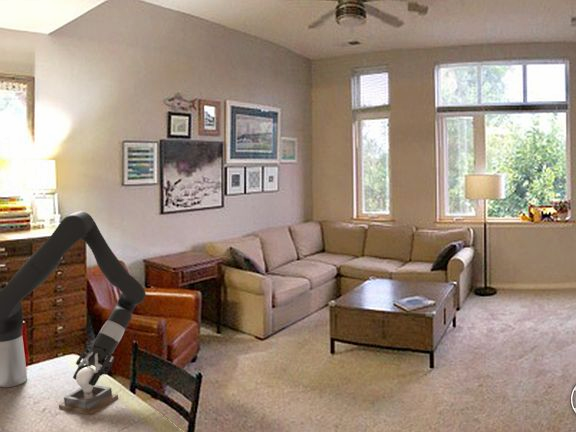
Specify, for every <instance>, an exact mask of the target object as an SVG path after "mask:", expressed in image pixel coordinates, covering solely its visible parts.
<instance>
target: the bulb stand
mask: <svg viewBox="0 0 576 432" xmlns="http://www.w3.org/2000/svg"><path fill="white" fill-rule="evenodd" d="M92 395H93V397H92V398H91V399H89V400H86V399H84V392H83V390H82V388H81V387H80V388H78V389H77V390H75V391H73V392H71V393H69V394H68V395H66V396H64V397H63V402H61V403H60V404H58V409H62V410H67V411H73V412H77V413H80V414H81V413H82V414H86V415H90V416H92V415H93V414H95V413H96V412H98V411H99V410H101V409H103V408H105V407H106V406H107V405H108V404H110V403H112V402H115V400H116V399H118V398H119V395H118V394H116V393H113V391H112V388H111V387H107V386H103V385H96V384H95V385H94V386H93V389H92Z"/></svg>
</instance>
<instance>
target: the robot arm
mask: <svg viewBox="0 0 576 432" xmlns="http://www.w3.org/2000/svg"><path fill="white" fill-rule="evenodd" d="M81 239H82V241H84V242H85V244H86V245H87V246H88V247H89V249H90V250H91V252H92V255H93V256H94V259H95V262H96V264H97V266H98V268H99V270H100V272H101V273H102V274H103V276H104V277H105V278H106V280H107V281H108V282H109V284H110V285H112V286H113V287H116V288H117V289H118V290H119V291H120V292H121V293H120V296H119V298H118V299H117V301H116V304H115V307H114V309H112V312H111V313H110V315H109V317H108V319H107V320H106V321H105V323H104V324H103V326H102V327H101V329H100V330H99V331H98V334H97V335H96V337H95V338H94V340H93V342H92V349H89V348H87V347H85V348H84V349H83V351H82V352H81V354H80V356H79V357H78V359H77V360H76V362H75V364H76V365H77V369H76V370H75V373H74V374H73V377H72V378H73V380H76V375H77V373H78V372H79V370H81V369H82V368H85V367H91V366H94V368H95V369H94V370H95V372H96V373H94V374H93V376H92V377H91V379H90V381H89V384H90V385H92V386H94V385H96V384H97V383H98V381H99V379H100V378H101V376H103V375H105V376H106V375H108V373H109V371H110V369H111V368H112V365H113V363H114V361H115V357H114V356H112V354H113V353H114V352H115V351H116V348H117V347H118V345H119V343H120V342H121V340H122V337H123V336H124V333H125V331H126V329H127V328H128V326H129V324H130V321H131V319H132V317H133V313H134V311H135V309H136V307H137V306H138V305H139V304H141V303H144V300H145V299H146V295H147V294H146V291H145V288H144V287H143V286H142V284H141V283H140V282H139V281H138V280H137V279H136V278H134V276H132V275H131V274H130V273H129V272H128V270H127V269H126V268H125V267H124V265H123V264H122V263H121V261H120V260H119V259H118V257H117V256H116V254H115V252H113V250H112V249H111V247H110V246H109V244H108V242H107V240H105V238H104V236H103V235H102V233H101V231H100V229H99V227H98V225H97V224H96V221H95V219H94V218H93V217H92V215H90V213H88V212H86V211H84V210H83V211H80V210H79V211H75V212H73V213H71V214H70V213H69V214H67V215H66V216H65V217H64V218H62V220H61V221H60V223H58V226H57V227H56V228H55V229H54V231H53V233H51V235H50V237H49V238H48V239H47V240H46V241H45V242H44V243H43V244H42V245H40V246H39V248H38V249H37V250H36V251H35V252H33V253H32V255H30V256H29V258H28V259H27V260H26V261H25V262H24V263H23V265H22V266H21V267H20V268H19V269H18V270H17V271H16V273H15V274H14V275H13V277H12V278H11V279H10V280H9V282H8V283H7V284H6V285H5V286H4V287H3V288H2V289H1V290H0V388H12V387H17V386H20V385H22V384H24V383H26V381H27V380H28V374H27V365H26V356H25V355H26V354H25V348H24V347H25V346H24V340H23V327H24V316H23V315H24V314H23V305H22V300H23V299H24V298H26V296H28V295H30V294H31V293H32V292H34V291H35V290H36V289H37V288H39V286H41V285H42V284H43V283H44V282H46V281H47V279H48V278H49V277H50V276H51V275H52V274H53V273H54V272H55V271H56V269H57V268H58V266H59V265H60V263H61V260H62V258H63V257H64V255H65V254H66V253H67V252H68V251H69V249H71V248H72V247H73V245H75V244H76V243H78V242H79V241H80V240H81Z"/></svg>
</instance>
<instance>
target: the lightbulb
mask: <svg viewBox="0 0 576 432" xmlns="http://www.w3.org/2000/svg"><path fill="white" fill-rule="evenodd" d="M94 373H96V372H95V369H94V368H93V367H91V366H88V367H85V368H82V369H81V370H79V372H78V373H77V375H76V383H77V384H78V386H79V387H80V388H82V390H83V392H84V399H86V400H89V399H91V398H92V397H93V395H92V389H93V386H92V385H90V384H89V381H90V379H91V377H92V376H93V374H94Z"/></svg>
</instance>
